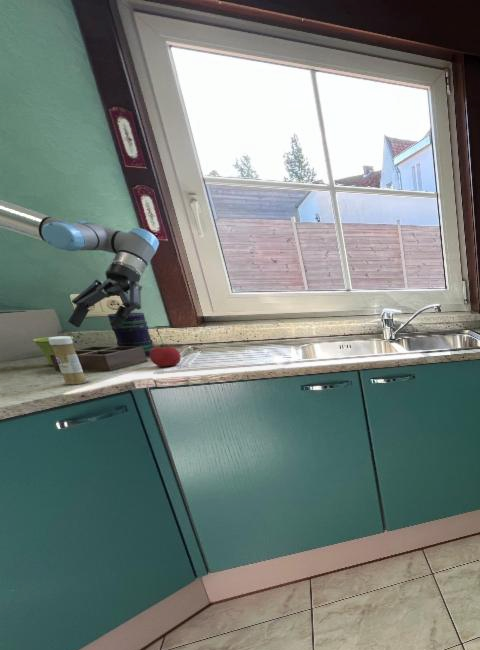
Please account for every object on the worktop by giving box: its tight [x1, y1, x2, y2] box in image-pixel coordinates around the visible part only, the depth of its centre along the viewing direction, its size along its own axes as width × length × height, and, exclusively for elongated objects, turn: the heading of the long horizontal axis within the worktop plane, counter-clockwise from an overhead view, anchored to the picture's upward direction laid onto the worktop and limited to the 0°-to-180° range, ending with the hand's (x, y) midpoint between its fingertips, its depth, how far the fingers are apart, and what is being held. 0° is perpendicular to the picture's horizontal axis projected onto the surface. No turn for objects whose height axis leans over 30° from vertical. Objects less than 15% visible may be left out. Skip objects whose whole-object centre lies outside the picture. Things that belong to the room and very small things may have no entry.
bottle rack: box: [50, 345, 148, 372], centre depth 164 cm, size 16×16×5 cm
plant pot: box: [32, 335, 75, 367], centre depth 164 cm, size 9×9×9 cm
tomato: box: [149, 343, 182, 368], centre depth 166 cm, size 8×8×7 cm
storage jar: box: [107, 312, 156, 358], centre depth 178 cm, size 10×10×15 cm
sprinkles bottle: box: [48, 335, 87, 386], centre depth 142 cm, size 5×5×14 cm
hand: (94, 325), depth 148 cm, fingers open, 13 cm apart
